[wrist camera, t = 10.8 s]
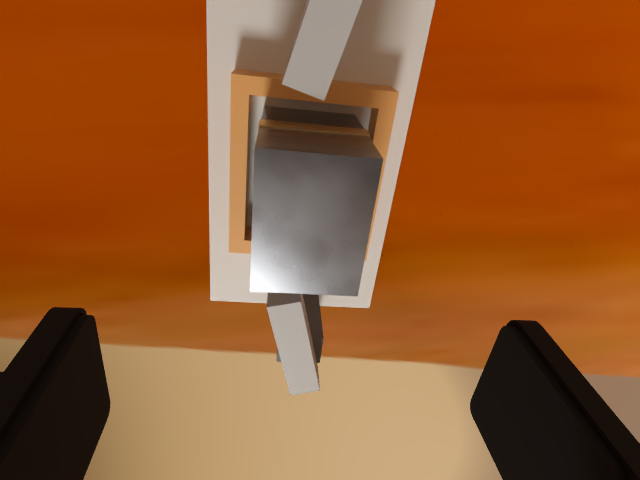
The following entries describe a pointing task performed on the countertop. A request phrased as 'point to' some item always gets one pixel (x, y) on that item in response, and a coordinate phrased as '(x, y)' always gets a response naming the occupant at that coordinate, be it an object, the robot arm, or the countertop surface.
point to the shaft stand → (308, 94)
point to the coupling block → (311, 202)
